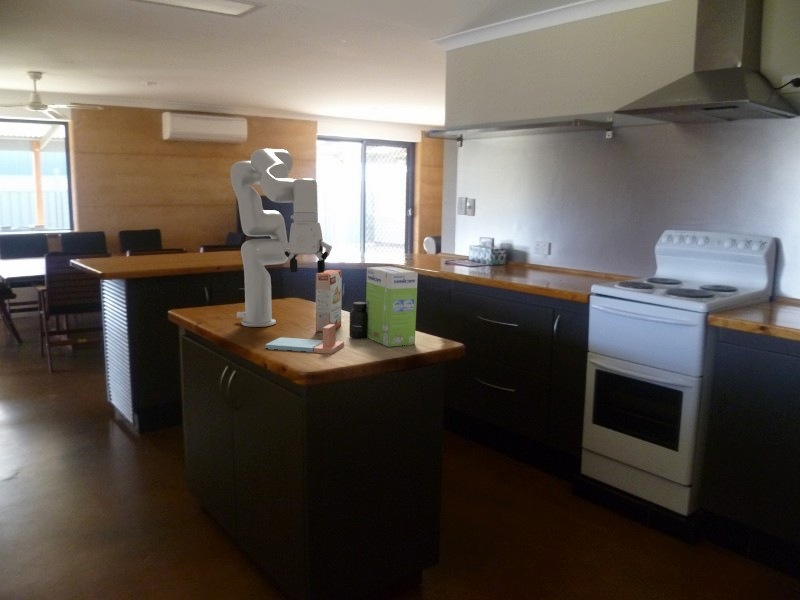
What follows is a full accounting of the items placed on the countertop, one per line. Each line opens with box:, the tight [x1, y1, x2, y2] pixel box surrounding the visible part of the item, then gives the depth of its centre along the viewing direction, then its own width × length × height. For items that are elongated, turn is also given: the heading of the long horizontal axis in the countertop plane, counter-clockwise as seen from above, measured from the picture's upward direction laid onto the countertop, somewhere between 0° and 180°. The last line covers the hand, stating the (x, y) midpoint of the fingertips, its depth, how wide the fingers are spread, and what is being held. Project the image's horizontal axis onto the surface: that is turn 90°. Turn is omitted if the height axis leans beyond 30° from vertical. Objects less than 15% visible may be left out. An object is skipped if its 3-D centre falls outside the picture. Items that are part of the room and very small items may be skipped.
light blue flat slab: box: [264, 336, 323, 353], centre depth 207 cm, size 16×11×1 cm
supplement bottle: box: [348, 301, 369, 340], centre depth 221 cm, size 7×7×12 cm
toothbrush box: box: [365, 265, 419, 348], centre depth 215 cm, size 18×10×24 cm, turn 30°
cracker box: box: [315, 269, 343, 333], centre depth 234 cm, size 14×6×21 cm, turn 168°
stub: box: [313, 324, 345, 355], centre depth 204 cm, size 6×11×7 cm, turn 166°
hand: (307, 272), depth 207 cm, fingers open, 9 cm apart
